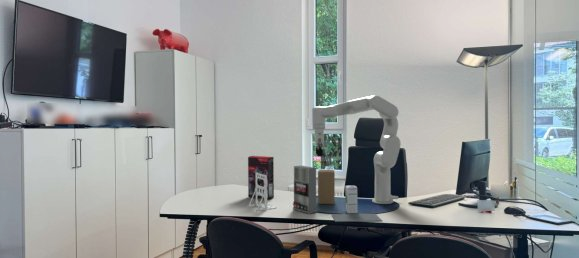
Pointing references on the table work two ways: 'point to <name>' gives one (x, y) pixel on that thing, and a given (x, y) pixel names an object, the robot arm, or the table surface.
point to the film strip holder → (261, 195)
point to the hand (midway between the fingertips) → (319, 155)
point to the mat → (355, 217)
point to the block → (326, 187)
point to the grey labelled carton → (305, 189)
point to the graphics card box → (262, 167)
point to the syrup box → (351, 199)
